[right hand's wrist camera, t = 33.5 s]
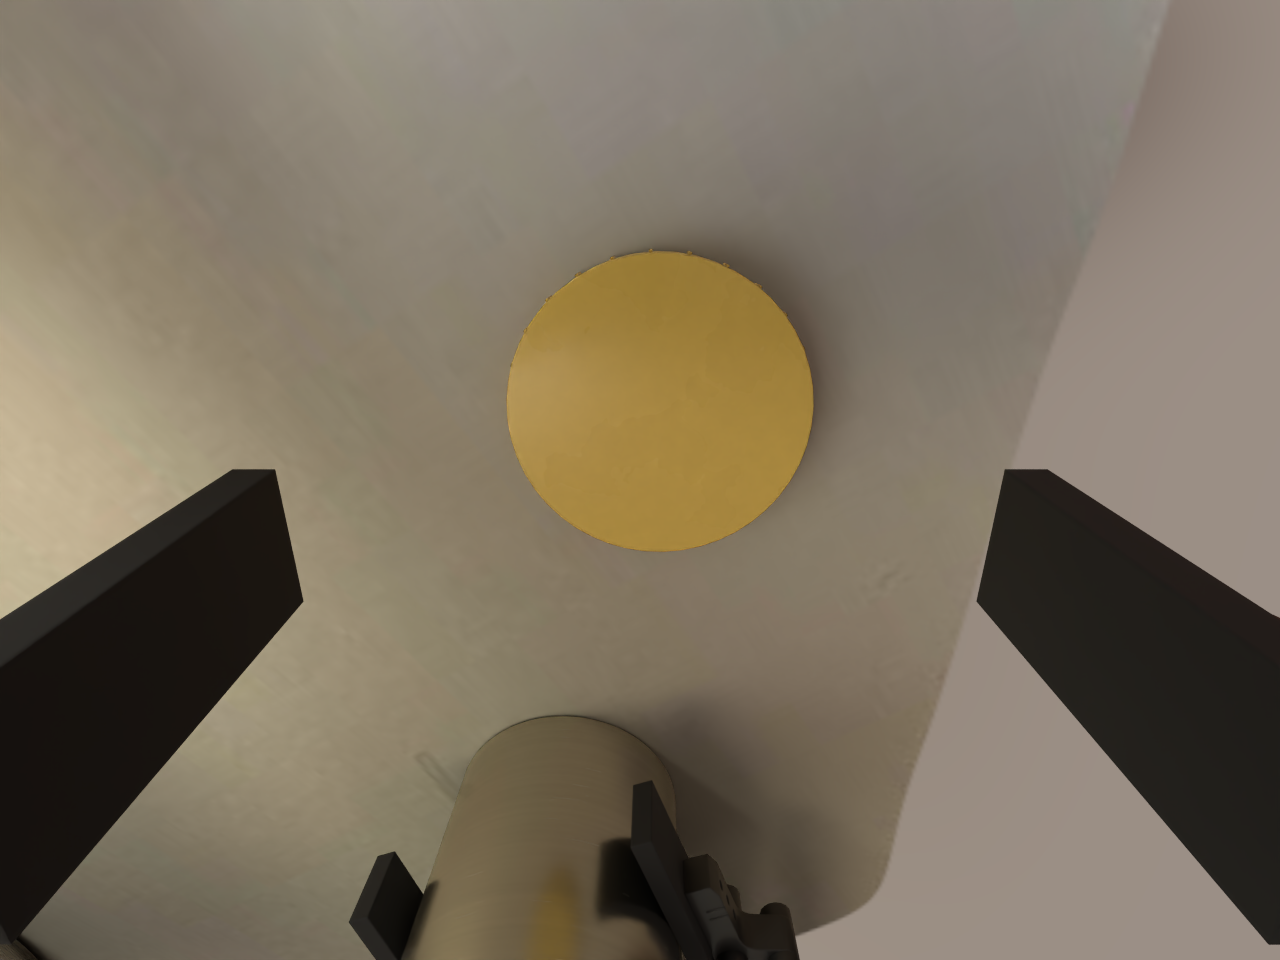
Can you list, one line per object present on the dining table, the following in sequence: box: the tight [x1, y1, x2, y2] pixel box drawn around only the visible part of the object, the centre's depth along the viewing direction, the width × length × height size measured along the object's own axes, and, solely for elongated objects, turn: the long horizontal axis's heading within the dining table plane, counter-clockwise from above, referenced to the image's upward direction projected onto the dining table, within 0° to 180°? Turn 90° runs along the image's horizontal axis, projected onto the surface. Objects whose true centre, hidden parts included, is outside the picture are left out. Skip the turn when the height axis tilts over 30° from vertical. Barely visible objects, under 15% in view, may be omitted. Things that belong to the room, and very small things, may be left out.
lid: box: [507, 249, 814, 552], centre depth 24 cm, size 11×11×2 cm
